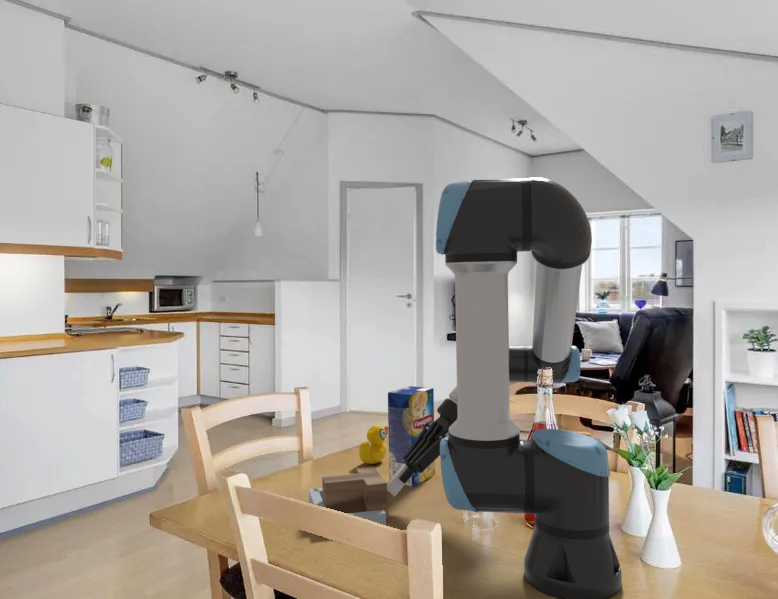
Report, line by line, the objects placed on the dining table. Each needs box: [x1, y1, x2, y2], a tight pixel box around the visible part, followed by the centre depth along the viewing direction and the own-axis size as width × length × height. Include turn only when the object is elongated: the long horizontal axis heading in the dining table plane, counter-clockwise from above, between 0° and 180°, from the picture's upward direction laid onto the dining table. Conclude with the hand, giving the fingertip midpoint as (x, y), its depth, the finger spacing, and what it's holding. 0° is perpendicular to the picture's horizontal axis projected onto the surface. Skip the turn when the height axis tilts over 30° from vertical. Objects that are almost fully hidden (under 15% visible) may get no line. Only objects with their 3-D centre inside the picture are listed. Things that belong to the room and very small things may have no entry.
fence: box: [308, 487, 387, 526], centre depth 127 cm, size 19×13×3 cm
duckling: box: [358, 424, 389, 465], centre depth 165 cm, size 11×5×10 cm, turn 143°
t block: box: [321, 466, 389, 523], centre depth 127 cm, size 12×12×8 cm
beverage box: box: [387, 385, 436, 487], centre depth 151 cm, size 7×11×22 cm, turn 147°
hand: (389, 491), depth 130 cm, fingers closed
